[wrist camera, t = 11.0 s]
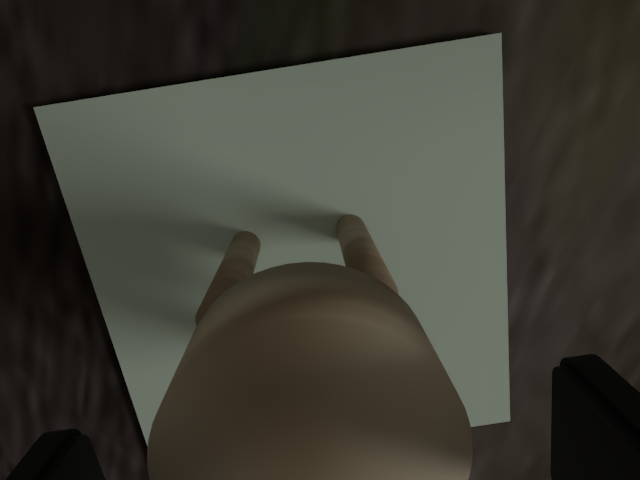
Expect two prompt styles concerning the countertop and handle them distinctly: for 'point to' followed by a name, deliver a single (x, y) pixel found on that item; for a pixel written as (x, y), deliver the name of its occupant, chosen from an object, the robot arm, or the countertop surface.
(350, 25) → the countertop surface
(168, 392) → the round tan stool
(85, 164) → the sage mat
